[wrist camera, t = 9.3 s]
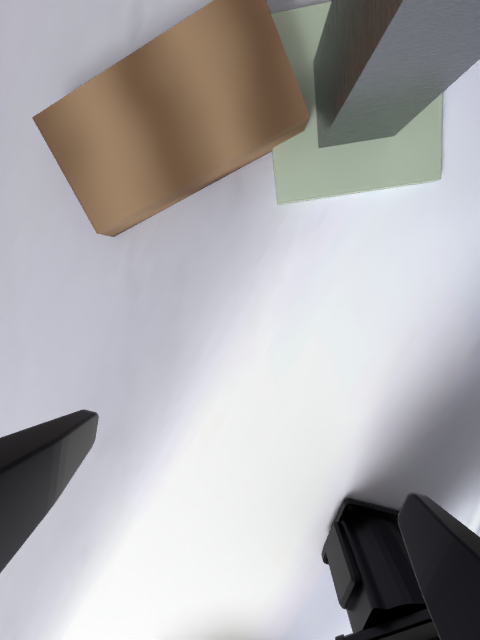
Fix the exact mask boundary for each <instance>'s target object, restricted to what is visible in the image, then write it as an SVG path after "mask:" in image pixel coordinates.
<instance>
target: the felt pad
mask: <svg viewBox="0 0 480 640" xmlns="http://www.w3.org/2000/svg"><path fill="white" fill-rule="evenodd" d="M331 2H332V1H330V2H325V3H320V4H316V5H311V6H306V7H301V8H296V9H291V10H286V11H281V12H276V13H271V15H272V18H273V21H274V23H275V26H276V28H277V31H278V34H279V36H280V39H281V42H282V44H283V47H284V49H285V52H286V55H287V57H288V60H289V63H290V65H291V68H292V71H293V73H294V76H295V78H296V81H297V84H298V86H299V89H300V92H301V94H302V97H303V99H304V102H305V105H306V107H307V110H308V113H309V115H310V117H309V119H308V122H307V124H306V127H305V130H304V131H303V132H301V133H299V134H297V135H296V136H294V137H292V138H290V139H288V140H286V141H285V142H283V143H281V144H279V145H277V146H275V147H274V148H273V149H272V154H273V164H274V175H275V185H276V195H277V205H281V204H288V203H294V202H301V201H307V200H314V199H320V198H327V197H334V196H340V195H347V194H353V193H360V192H367V191H373V190H380V189H386V188H393V187H400V186H406V185H413V184H419V183H426V182H433V181H437V180H439V179H441V143H442V93H443V92H442V93H441V94H440V95H439V96H438V97H437V98H436V99H435V100H434V101H432V102H431V103H430V104H429V105H428V106H427V107H426V108H425V109H424V110H423V111H421V112H420V113H419V114H418V115H417V116H416V117H415V118H414V119H413V120H411V121H410V122H409V123H408V124H407V125H406V126H405V127H404V128H403V129H402V130H400V131H399V132H398V133H397V134H396V135H395V136H392V137H386V138H380V139H374V140H368V141H361V142H355V143H349V144H343V145H337V146H331V147H324V148H318V134H317V118H316V102H315V87H314V71H313V61H314V58H315V54H316V51H317V48H318V44H319V41H320V38H321V35H322V31H323V28H324V25H325V21H326V18H327V15H328V12H329V8H330V5H331Z"/></svg>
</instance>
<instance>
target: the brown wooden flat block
mask: <svg viewBox="0 0 480 640" xmlns="http://www.w3.org/2000/svg"><path fill="white" fill-rule="evenodd" d="M309 117H310V115H309V113H308V110H307V107H306V105H305V102H304V99H303V97H302V94H301V92H300V89H299V86H298V84H297V81H296V78H295V76H294V73H293V71H292V68H291V65H290V63H289V60H288V57H287V55H286V52H285V49H284V47H283V44H282V42H281V39H280V36H279V34H278V31H277V28H276V26H275V23H274V21H273V18H272V15H271V13H270V10H269V7H268V5H267V2H266V0H214V1H213V2H211V3H209V4H208V5H206V6H205V7H203V8H202V9H200V10H199V11H197V12H195V13H194V14H192V15H191V16H189V17H188V18H186V19H185V20H183V21H181V22H180V23H178V24H177V25H175V26H174V27H172V28H171V29H169V30H167V31H166V32H164V33H163V34H161V35H160V36H158V37H157V38H155V39H153V40H152V41H150V42H149V43H147V44H146V45H144V46H143V47H141V48H140V49H138V50H136V51H135V52H133V53H132V54H130V55H129V56H127V57H126V58H124V59H122V60H121V61H119V62H118V63H116V64H115V65H113V66H112V67H110V68H108V69H107V70H105V71H104V72H102V73H101V74H99V75H98V76H96V77H94V78H93V79H91V80H90V81H88V82H87V83H85V84H84V85H82V86H80V87H79V88H77V89H76V90H74V91H73V92H71V93H70V94H68V95H67V96H65V97H63V98H62V99H60V100H59V101H57V102H56V103H54V104H53V105H51V106H49V107H48V108H46V109H45V110H43V111H42V112H40V113H39V114H37V115H35V116H34V117H32V118H33V120H34V122H35V123H36V125H37V127H38V129H39V131H40V132H41V134H42V136H43V138H44V140H45V141H46V143H47V145H48V147H49V148H50V150H51V152H52V154H53V156H54V157H55V159H56V161H57V163H58V165H59V166H60V168H61V170H62V172H63V174H64V175H65V177H66V179H67V181H68V183H69V184H70V186H71V188H72V190H73V192H74V193H75V195H76V197H77V199H78V201H79V202H80V204H81V206H82V208H83V210H84V211H85V213H86V215H87V217H88V218H89V220H90V222H91V224H92V226H93V227H94V229H95V231H96V233H97V234H102V235H107V236H112V237H115V236H116V235H118V234H120V233H122V232H124V231H126V230H127V229H129V228H131V227H133V226H135V225H137V224H138V223H140V222H142V221H144V220H146V219H148V218H150V217H151V216H153V215H155V214H157V213H159V212H161V211H162V210H164V209H166V208H168V207H170V206H172V205H173V204H175V203H177V202H179V201H181V200H183V199H184V198H186V197H188V196H190V195H192V194H194V193H195V192H197V191H199V190H201V189H203V188H205V187H207V186H208V185H210V184H212V183H214V182H216V181H218V180H219V179H221V178H223V177H225V176H227V175H229V174H230V173H232V172H234V171H236V170H238V169H240V168H241V167H243V166H245V165H247V164H249V163H251V162H253V161H254V160H256V159H258V158H260V157H262V156H264V155H265V154H267V153H269V152H271V151H272V149H273V148H274V147H275V146H277V145H279V144H281V143H283V142H285V141H286V140H288V139H290V138H292V137H294V136H296V135H297V134H299V133H301V132H303V131H304V130H305V127H306V124H307V122H308V119H309Z"/></svg>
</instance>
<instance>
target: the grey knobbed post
mask: <svg viewBox="0 0 480 640" xmlns="http://www.w3.org/2000/svg"><path fill="white" fill-rule="evenodd" d="M479 59H480V0H332V2H331V5H330V8H329V12H328V15H327V18H326V21H325V25H324V28H323V31H322V35H321V38H320V41H319V44H318V48H317V51H316V54H315V58H314V61H313V71H314V87H315V102H316V118H317V134H318V148H324V147H331V146H337V145H343V144H349V143H355V142H361V141H368V140H374V139H380V138H386V137H392V136H395V135H396V134H397V133H398V132H399V131H400V130H402V129H403V128H404V127H405V126H406V125H407V124H408V123H409V122H410V121H411V120H413V119H414V118H415V117H416V116H417V115H418V114H419V113H420V112H421V111H423V110H424V109H425V108H426V107H427V106H428V105H429V104H430V103H431V102H432V101H434V100H435V99H436V98H437V97H438V96H439V95H440V94H441V93H442V92H444V91H445V90H446V89H447V88H448V87H449V86H450V85H451V84H452V83H453V82H455V81H456V80H457V79H458V78H459V77H460V76H461V75H462V74H463V73H464V72H466V71H467V70H468V69H469V68H470V67H471V66H472V65H473V64H474V63H476V62H477V61H478V60H479Z"/></svg>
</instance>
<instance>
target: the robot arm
mask: <svg viewBox="0 0 480 640" xmlns="http://www.w3.org/2000/svg"><path fill="white" fill-rule="evenodd" d="M97 425H98V414H97V413H96V412H92V411H88V410H80V411H77V412H74V413H71V414H68V415H65V416H62V417H60V418H57V419H54V420H51V421H48V422H45V423H42V424H39V425H36V426H33V427H30V428H27V429H25V430H22V431H19V432H16V433H13V434H10V435H7V436H4V437H1V438H0V573H1V572H2V570H3V569H4V568H5V567H6V565H7V564H8V563H9V561H10V560H11V559H12V558H13V556H14V555H15V554H16V553H17V551H18V550H19V549H20V547H21V546H22V545H23V544H24V542H25V541H26V540H27V539H28V537H29V536H30V535H31V534H32V532H33V531H34V530H35V528H36V527H37V526H38V525H39V523H40V522H41V521H42V520H43V518H44V517H45V516H46V514H47V513H48V512H49V510H50V509H51V508H52V506H53V505H54V504H55V502H56V501H57V499H58V498H59V497H60V495H61V494H62V492H63V491H64V489H65V487H66V486H67V484H68V483H69V481H70V480H71V478H72V477H73V475H74V474H75V472H76V471H77V469H78V468H79V466H80V465H81V463H82V461H83V460H84V458H85V457H86V455H87V454H88V452H89V451H90V449H91V448H92V446H93V444H94V441H95V438H96V431H97ZM348 506H349V507H348ZM322 559H323V562H324V563H325V564H329V566H330V570H331V574H332V578H333V582H334V586H335V589H336V593H337V597H338V601H339V604H340V606H341V607H342V608H343V609H346V610H347V613H348V617H349V620H350V624H351V628H352V631H353V633H352V634H349V635H346V636H344V635H343V634H342V635H339V636H337V637H335V640H480V537H479V536H477V535H476V534H475V533H474V532H472V531H471V530H470V529H468V528H467V527H466V526H465V525H463V524H462V523H461V522H459V521H458V520H457V519H456V518H454V517H453V516H452V515H450V514H449V513H448V512H447V511H445V510H444V509H443V508H441V507H440V506H439V505H438V504H436V503H435V502H434V501H432V500H431V499H430V498H428V497H427V496H425V495H421V494H417V493H409V494H408V495H407V497H406V499H405V501H404V503H403V505H402V508H401V510H400V512H399V511H396V510H392V509H388V508H384V507H380V506H376V505H372V504H368V503H364V502H360V501H356V500H352V499H346V500H344V502H343V503H342V506H341V508H340V510H339V513H338V515H337V518H336V520H335V522H334V523H333V525H332V528H331V530H330V532H329V535H328V537H327V540H326V542H325V545H324V549H323V551H322Z"/></svg>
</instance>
